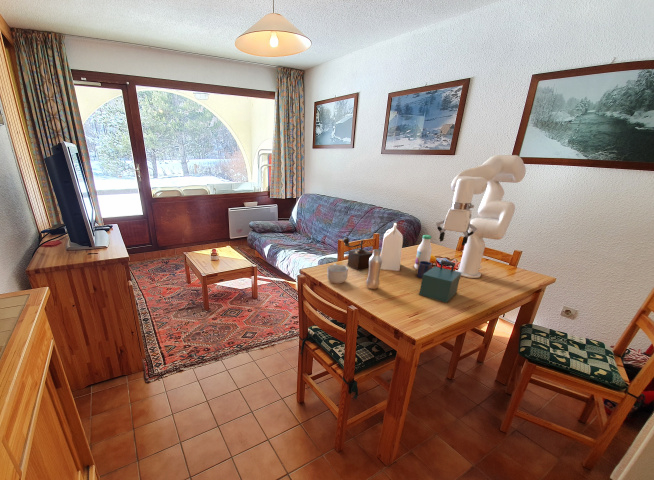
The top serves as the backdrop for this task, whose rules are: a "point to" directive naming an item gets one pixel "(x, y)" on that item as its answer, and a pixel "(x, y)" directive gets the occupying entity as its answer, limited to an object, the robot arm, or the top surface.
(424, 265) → the cup
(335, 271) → the teacup
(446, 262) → the cool box lid
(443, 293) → the cool box
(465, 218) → the robot arm
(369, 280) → the plastic bottle
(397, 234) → the milk
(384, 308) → the top surface
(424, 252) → the milk bottle
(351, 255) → the manual coffee grinder
